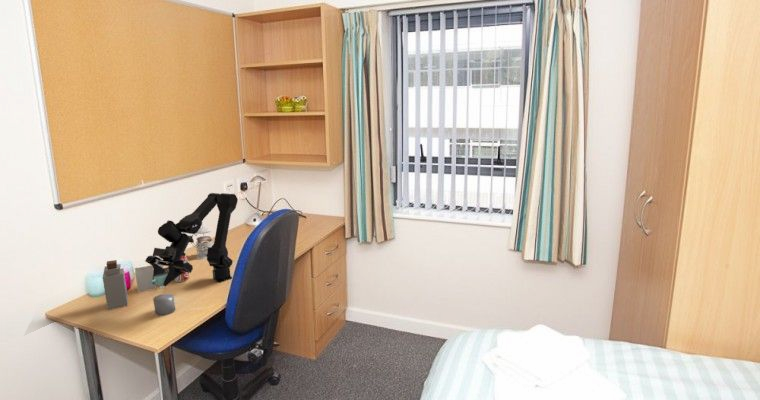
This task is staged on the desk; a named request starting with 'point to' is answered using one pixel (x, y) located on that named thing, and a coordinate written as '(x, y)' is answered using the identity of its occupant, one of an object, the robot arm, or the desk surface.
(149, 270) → the grey rectangular block
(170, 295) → the grey rounded lump
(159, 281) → the pump head
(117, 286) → the perfume bottle
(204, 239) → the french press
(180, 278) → the soda can
